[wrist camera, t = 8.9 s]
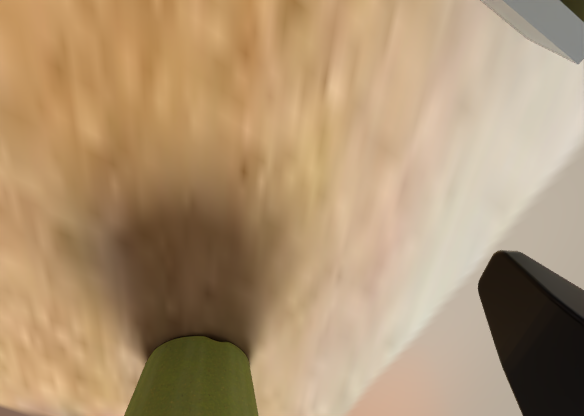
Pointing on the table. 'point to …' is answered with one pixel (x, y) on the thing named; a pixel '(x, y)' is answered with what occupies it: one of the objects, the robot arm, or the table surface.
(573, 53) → the grey storage bin
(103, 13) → the table surface
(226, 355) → the plant pot
